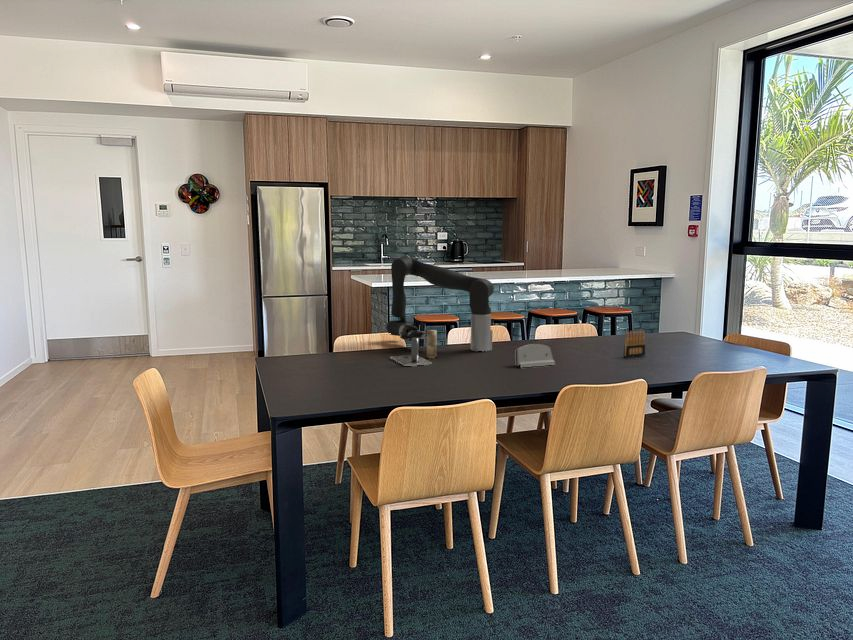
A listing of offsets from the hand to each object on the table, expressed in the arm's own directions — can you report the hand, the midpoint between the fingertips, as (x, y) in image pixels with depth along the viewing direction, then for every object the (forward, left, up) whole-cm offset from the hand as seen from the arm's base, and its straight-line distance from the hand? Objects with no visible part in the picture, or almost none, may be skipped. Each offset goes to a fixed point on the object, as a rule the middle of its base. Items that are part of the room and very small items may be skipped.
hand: (421, 337), depth 284 cm
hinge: (-33, +42, -7) cm, 54 cm away
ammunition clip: (-85, +43, -7) cm, 96 cm away
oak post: (0, +11, -7) cm, 13 cm away
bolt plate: (+12, +16, -7) cm, 21 cm away
